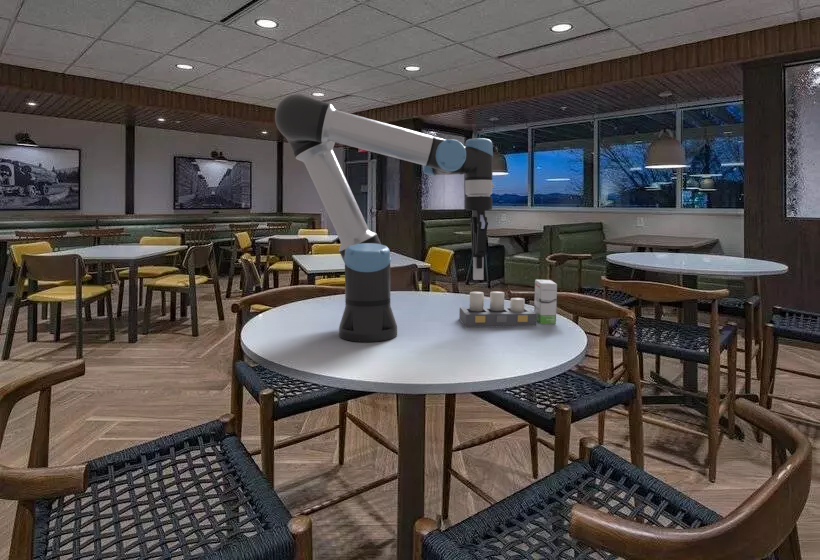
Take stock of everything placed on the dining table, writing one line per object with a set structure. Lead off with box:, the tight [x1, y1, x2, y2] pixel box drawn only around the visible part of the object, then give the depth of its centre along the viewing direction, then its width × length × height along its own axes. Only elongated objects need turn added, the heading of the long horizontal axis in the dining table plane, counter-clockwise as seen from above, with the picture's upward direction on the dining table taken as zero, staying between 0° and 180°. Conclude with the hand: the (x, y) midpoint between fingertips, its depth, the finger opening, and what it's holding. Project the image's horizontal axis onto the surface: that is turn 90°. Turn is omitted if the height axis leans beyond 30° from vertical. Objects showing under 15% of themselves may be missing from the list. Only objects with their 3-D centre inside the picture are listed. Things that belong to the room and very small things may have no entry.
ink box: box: [533, 279, 558, 325], centre depth 152 cm, size 9×5×12 cm, turn 178°
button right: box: [510, 297, 526, 312], centre depth 150 cm, size 4×4×5 cm
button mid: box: [489, 291, 505, 311], centre depth 150 cm, size 4×4×5 cm
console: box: [458, 305, 537, 328], centre depth 150 cm, size 20×11×4 cm, turn 94°
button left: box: [469, 291, 485, 311], centre depth 149 cm, size 4×4×5 cm
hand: (478, 279), depth 148 cm, fingers closed
